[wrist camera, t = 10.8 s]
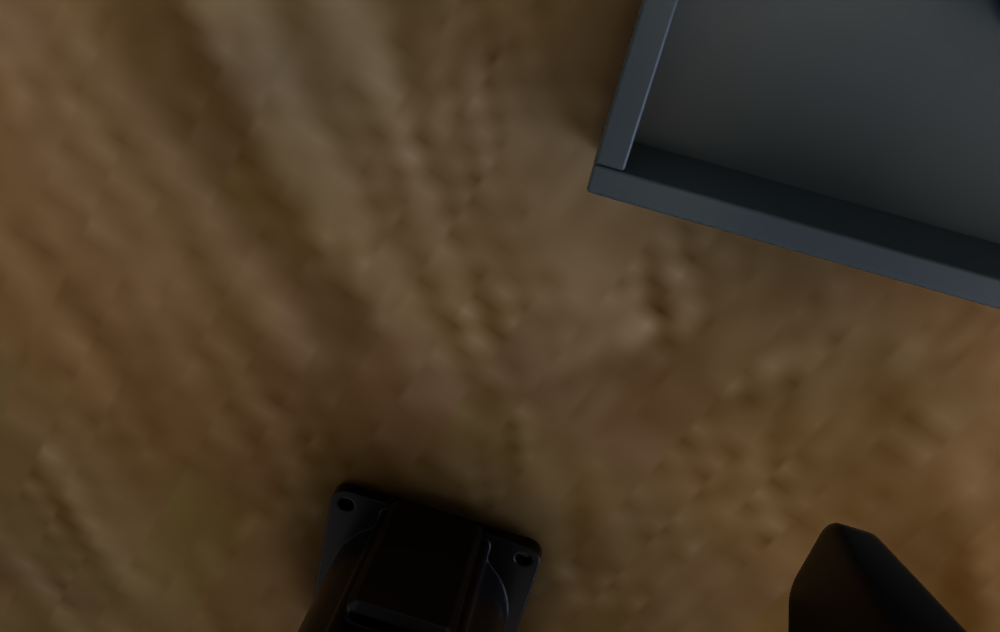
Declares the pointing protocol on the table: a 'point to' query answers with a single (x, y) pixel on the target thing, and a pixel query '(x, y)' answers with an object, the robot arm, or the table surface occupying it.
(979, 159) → the tray
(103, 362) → the table surface
